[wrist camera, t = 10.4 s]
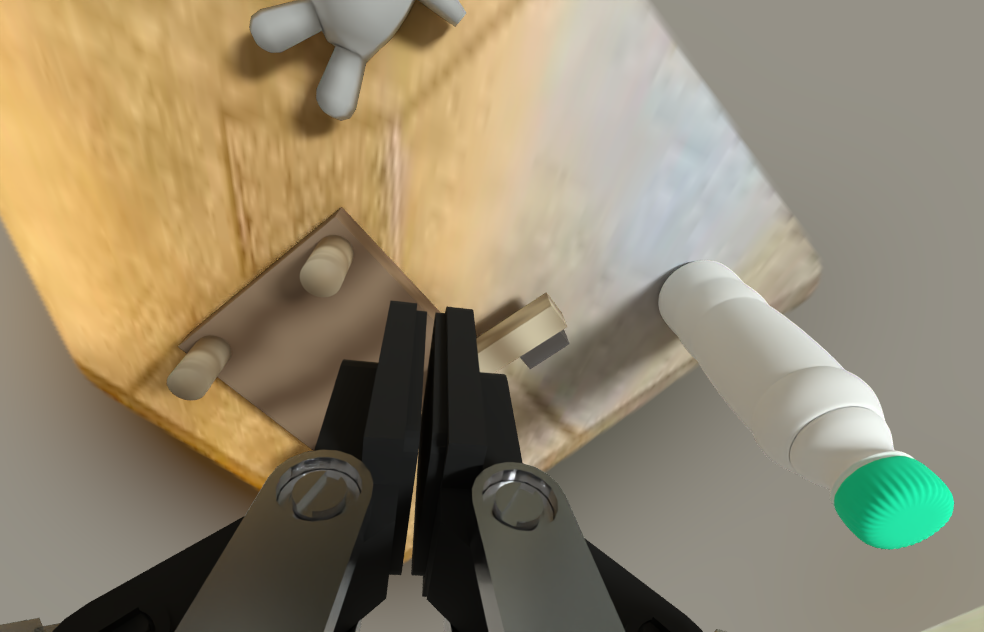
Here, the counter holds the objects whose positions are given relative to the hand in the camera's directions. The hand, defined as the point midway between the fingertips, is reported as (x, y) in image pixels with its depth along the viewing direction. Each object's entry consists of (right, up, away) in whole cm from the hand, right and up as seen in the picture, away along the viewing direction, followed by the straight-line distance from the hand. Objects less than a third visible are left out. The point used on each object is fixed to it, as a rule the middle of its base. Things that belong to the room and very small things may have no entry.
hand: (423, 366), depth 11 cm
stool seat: (-9, 0, +35) cm, 36 cm away
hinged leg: (+2, -1, +33) cm, 33 cm away
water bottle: (+20, +3, +36) cm, 41 cm away
